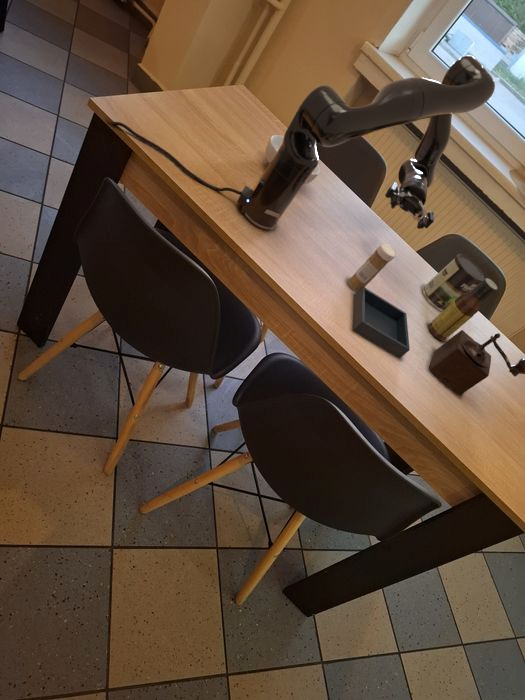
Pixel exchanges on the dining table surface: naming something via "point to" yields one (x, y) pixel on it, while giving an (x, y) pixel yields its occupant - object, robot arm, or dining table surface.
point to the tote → (380, 322)
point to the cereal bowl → (274, 147)
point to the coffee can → (452, 282)
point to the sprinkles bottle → (372, 267)
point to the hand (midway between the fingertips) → (408, 215)
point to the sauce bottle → (461, 310)
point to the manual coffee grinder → (467, 362)
